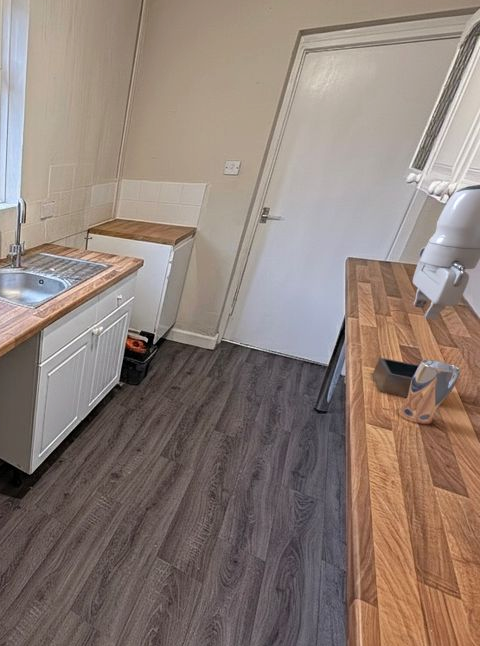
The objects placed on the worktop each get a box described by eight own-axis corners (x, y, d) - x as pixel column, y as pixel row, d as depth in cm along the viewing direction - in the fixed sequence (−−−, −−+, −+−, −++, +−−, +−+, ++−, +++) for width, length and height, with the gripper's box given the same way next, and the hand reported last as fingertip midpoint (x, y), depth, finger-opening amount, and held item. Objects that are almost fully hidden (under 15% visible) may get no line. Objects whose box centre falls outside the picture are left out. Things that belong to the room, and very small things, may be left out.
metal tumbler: (390, 413, 106) (415, 362, 100) (402, 406, 109) (427, 356, 103) (427, 428, 101) (456, 375, 95) (438, 420, 104) (467, 368, 98)
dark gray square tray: (425, 385, 119) (434, 368, 117) (438, 404, 110) (448, 386, 108) (372, 374, 125) (379, 357, 122) (379, 391, 116) (388, 373, 114)
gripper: (488, 269, 86) (456, 329, 91) (454, 250, 101) (429, 303, 107) (445, 264, 89) (417, 323, 95) (419, 247, 105) (396, 298, 110)
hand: (423, 312), depth 101 cm, fingers open, 8 cm apart
